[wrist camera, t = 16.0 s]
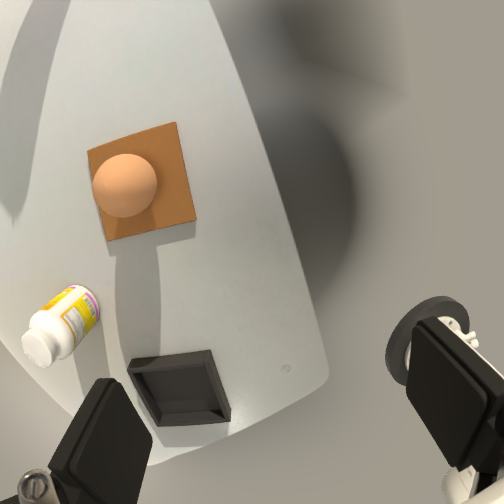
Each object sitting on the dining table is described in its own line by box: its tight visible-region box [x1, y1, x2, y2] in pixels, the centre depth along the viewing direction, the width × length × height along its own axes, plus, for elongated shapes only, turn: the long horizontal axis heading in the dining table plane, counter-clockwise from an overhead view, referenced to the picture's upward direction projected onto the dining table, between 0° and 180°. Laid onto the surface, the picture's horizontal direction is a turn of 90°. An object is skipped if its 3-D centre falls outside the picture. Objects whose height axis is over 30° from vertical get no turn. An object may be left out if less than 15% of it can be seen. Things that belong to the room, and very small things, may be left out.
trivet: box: [87, 122, 196, 241], centre depth 33 cm, size 12×12×1 cm
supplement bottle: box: [22, 285, 99, 368], centre depth 31 cm, size 7×7×13 cm
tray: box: [127, 350, 231, 427], centre depth 40 cm, size 12×12×3 cm
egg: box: [92, 154, 157, 218], centre depth 29 cm, size 7×7×9 cm
